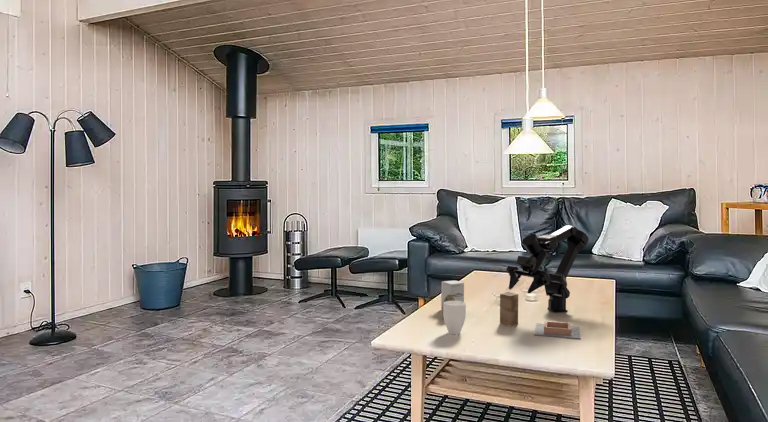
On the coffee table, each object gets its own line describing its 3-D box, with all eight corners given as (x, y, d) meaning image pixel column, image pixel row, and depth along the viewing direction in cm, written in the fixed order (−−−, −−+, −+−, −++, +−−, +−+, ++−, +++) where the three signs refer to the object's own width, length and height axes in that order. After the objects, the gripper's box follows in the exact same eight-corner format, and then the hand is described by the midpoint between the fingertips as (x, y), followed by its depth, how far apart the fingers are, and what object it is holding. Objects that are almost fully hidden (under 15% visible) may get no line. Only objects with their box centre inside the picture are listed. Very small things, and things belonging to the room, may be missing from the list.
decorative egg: (456, 316, 226) (456, 293, 226) (457, 320, 220) (457, 296, 220) (441, 316, 227) (441, 292, 226) (442, 320, 221) (442, 296, 220)
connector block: (507, 321, 218) (508, 292, 218) (518, 324, 214) (518, 294, 214) (499, 323, 215) (500, 293, 214) (510, 326, 211) (510, 296, 211)
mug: (463, 337, 197) (463, 306, 197) (440, 334, 200) (440, 304, 199) (469, 328, 208) (469, 299, 208) (448, 326, 211) (448, 297, 211)
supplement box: (450, 313, 232) (450, 284, 231) (440, 309, 239) (440, 281, 238) (464, 311, 235) (464, 282, 235) (454, 307, 242) (454, 279, 241)
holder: (536, 324, 214) (536, 318, 214) (579, 327, 209) (579, 321, 209) (534, 335, 199) (534, 328, 199) (580, 339, 194) (580, 332, 194)
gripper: (509, 246, 227) (491, 275, 221) (547, 250, 213) (529, 282, 207) (520, 263, 233) (503, 291, 227) (558, 268, 218) (541, 299, 212)
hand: (518, 290), depth 218 cm, fingers open, 9 cm apart
